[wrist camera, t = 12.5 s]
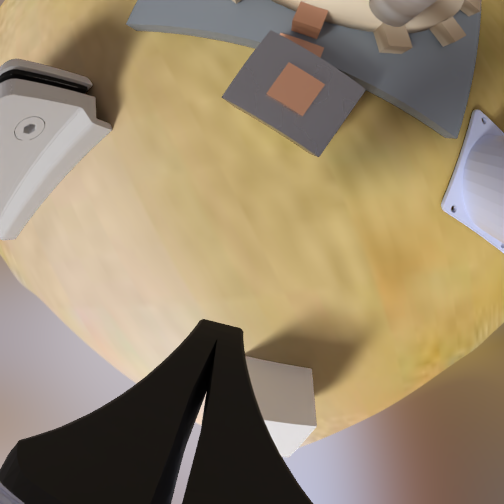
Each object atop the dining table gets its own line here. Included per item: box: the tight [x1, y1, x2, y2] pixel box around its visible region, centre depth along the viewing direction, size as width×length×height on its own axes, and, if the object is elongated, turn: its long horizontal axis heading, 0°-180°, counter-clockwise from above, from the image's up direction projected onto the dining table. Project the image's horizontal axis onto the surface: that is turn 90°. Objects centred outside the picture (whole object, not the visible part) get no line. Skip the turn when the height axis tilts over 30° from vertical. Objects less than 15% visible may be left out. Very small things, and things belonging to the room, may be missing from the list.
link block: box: [222, 30, 366, 157], centre depth 12 cm, size 5×4×4 cm
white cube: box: [245, 356, 317, 457], centre depth 20 cm, size 6×6×6 cm
